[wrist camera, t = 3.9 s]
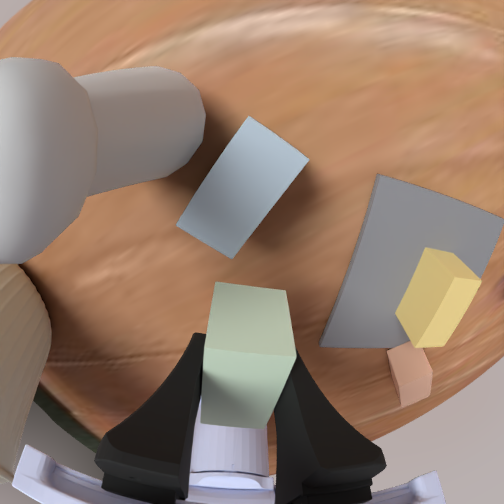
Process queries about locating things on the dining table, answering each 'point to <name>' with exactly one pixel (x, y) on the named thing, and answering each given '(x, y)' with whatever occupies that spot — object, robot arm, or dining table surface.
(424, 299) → the mustard brick
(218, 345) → the green brick
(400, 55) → the dining table surface
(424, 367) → the terracotta brick
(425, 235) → the felt mat
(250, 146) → the slate brick
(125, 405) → the dining table surface
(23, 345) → the canister
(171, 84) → the salt shaker
